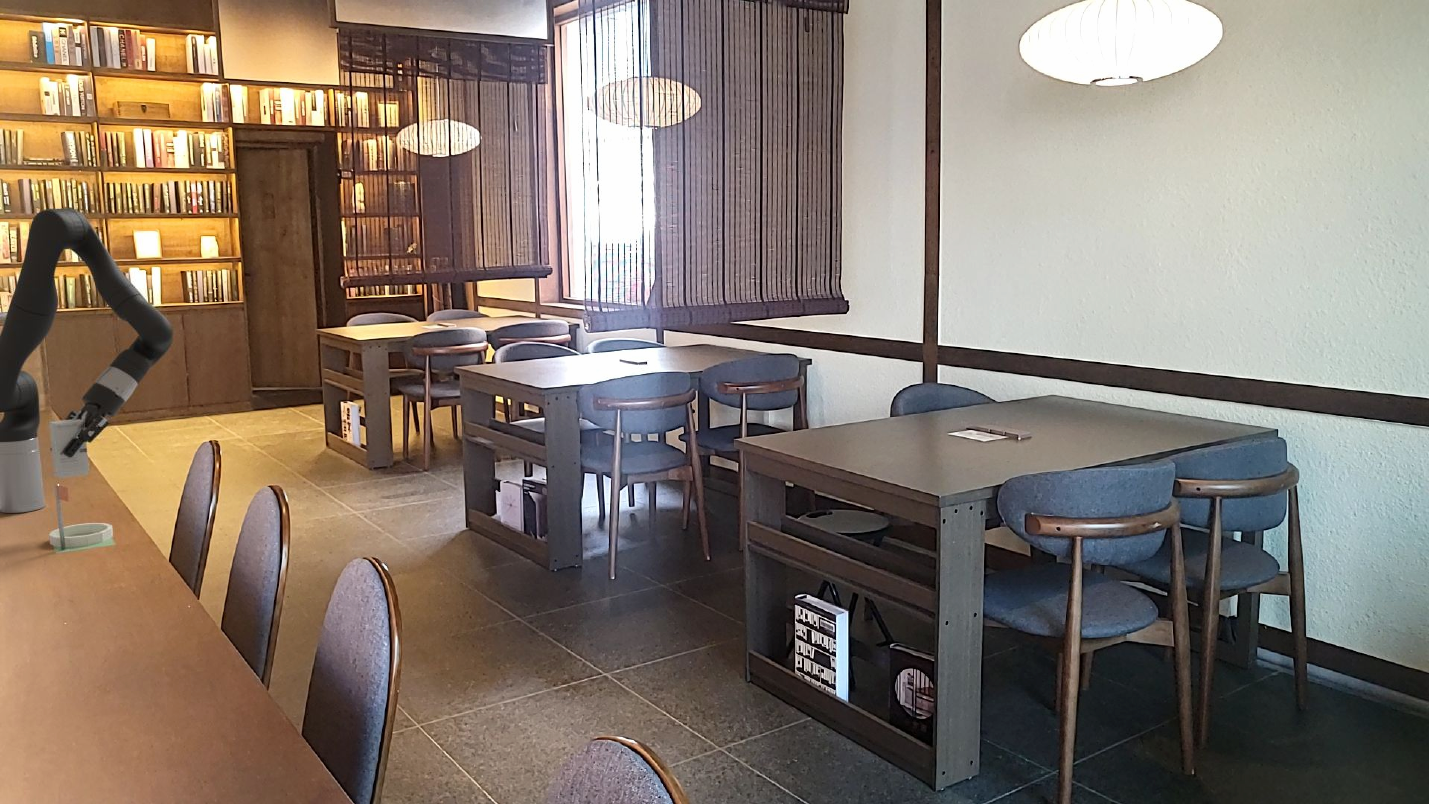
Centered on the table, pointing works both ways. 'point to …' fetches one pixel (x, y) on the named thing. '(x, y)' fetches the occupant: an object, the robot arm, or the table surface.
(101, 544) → the felt mat
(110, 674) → the table surface
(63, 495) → the pin flag
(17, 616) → the table surface
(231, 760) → the table surface
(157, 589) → the table surface
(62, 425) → the skincare box
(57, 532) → the cup
